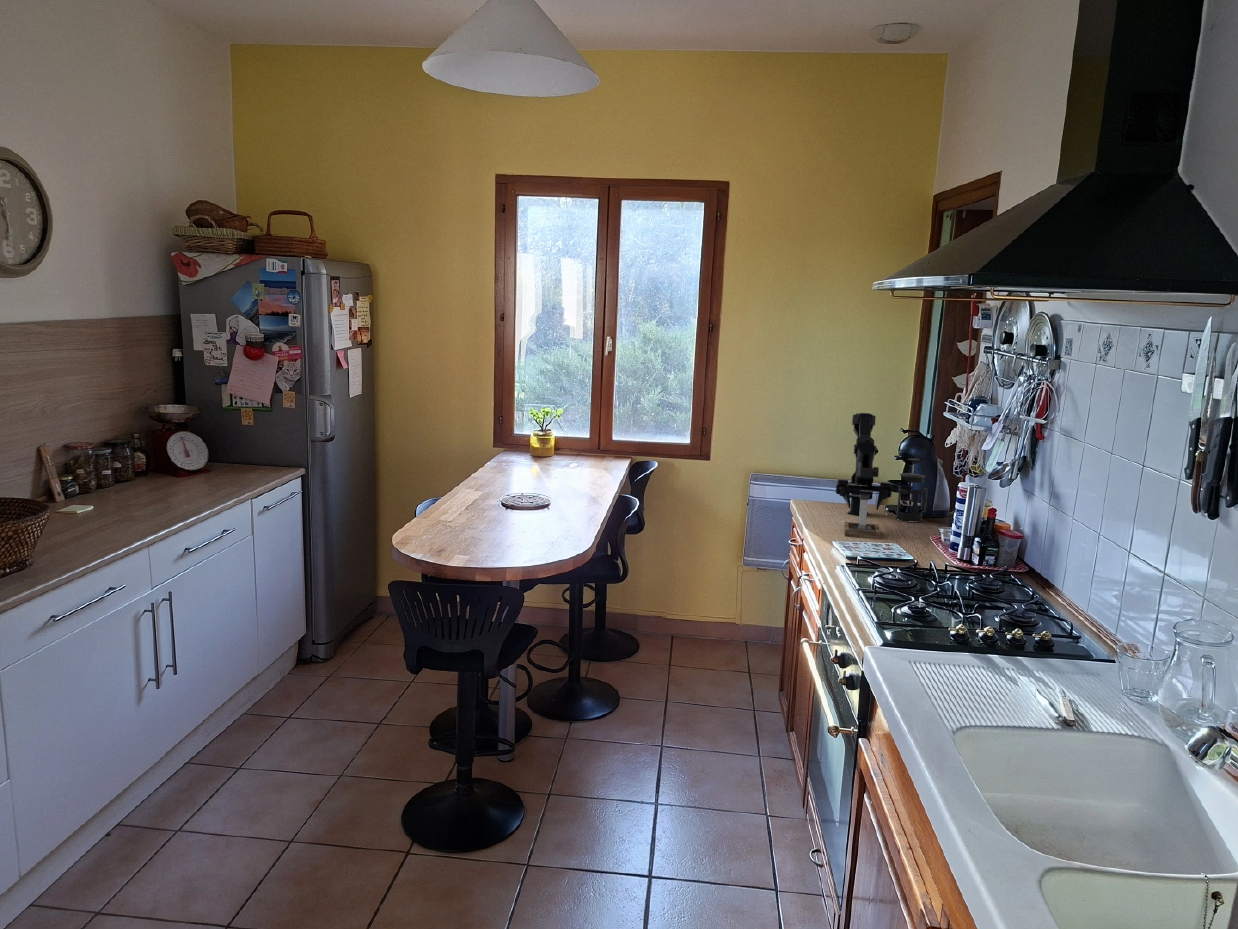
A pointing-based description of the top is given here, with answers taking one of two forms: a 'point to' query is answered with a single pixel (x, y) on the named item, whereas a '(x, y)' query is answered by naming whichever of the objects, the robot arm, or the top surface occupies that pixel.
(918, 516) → the french press
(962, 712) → the top surface
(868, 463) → the robot arm
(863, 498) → the post on square base
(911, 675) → the top surface
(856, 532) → the dock
